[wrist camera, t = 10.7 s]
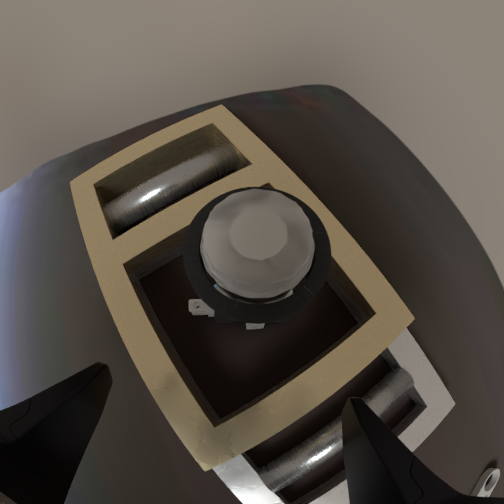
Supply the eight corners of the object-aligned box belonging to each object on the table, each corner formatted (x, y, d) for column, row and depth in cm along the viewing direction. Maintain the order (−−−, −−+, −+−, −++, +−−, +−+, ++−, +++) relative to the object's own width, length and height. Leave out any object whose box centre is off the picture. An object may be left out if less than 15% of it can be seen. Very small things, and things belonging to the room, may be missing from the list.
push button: (194, 349, 17) (131, 318, 8) (193, 272, 19) (148, 178, 10) (298, 343, 17) (352, 306, 8) (289, 266, 19) (321, 169, 10)
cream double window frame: (280, 531, 11) (285, 552, 8) (84, 201, 22) (69, 182, 19) (443, 403, 14) (468, 403, 12) (223, 128, 25) (221, 104, 22)
